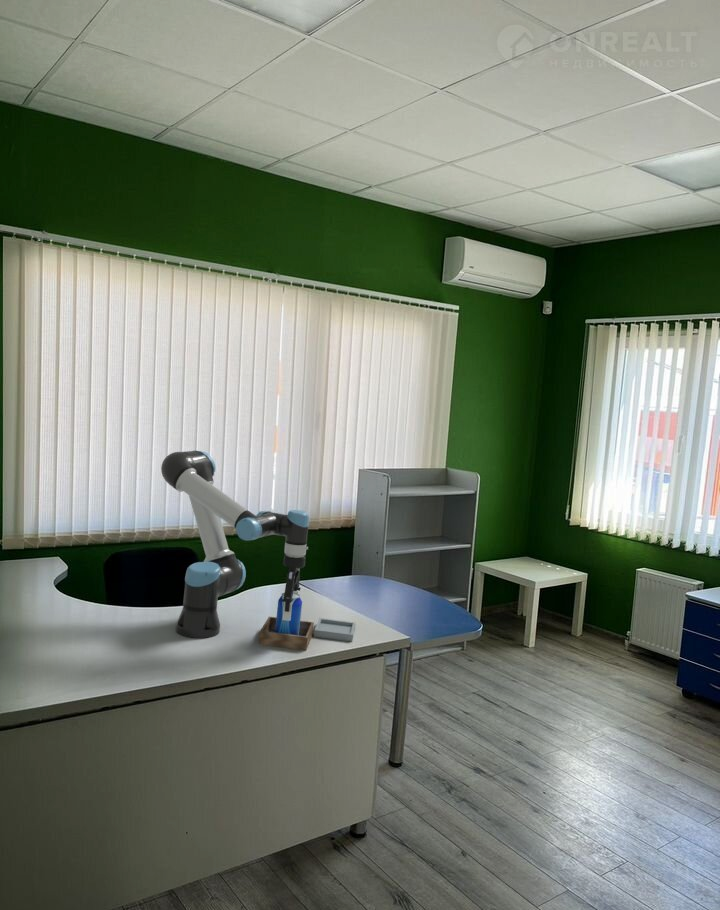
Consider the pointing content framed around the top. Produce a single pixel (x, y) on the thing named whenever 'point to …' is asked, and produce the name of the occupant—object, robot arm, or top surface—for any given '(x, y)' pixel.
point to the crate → (286, 635)
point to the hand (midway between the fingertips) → (289, 614)
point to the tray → (335, 629)
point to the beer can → (294, 623)
